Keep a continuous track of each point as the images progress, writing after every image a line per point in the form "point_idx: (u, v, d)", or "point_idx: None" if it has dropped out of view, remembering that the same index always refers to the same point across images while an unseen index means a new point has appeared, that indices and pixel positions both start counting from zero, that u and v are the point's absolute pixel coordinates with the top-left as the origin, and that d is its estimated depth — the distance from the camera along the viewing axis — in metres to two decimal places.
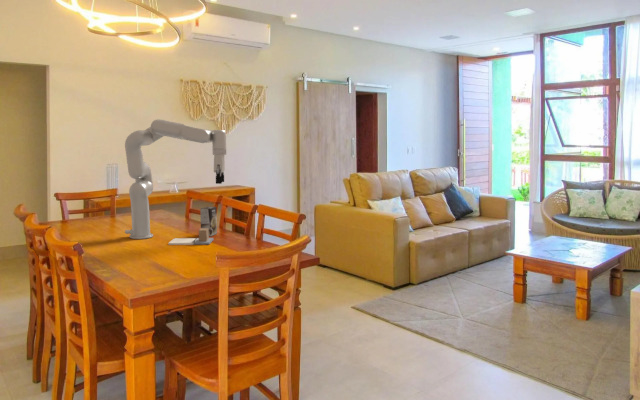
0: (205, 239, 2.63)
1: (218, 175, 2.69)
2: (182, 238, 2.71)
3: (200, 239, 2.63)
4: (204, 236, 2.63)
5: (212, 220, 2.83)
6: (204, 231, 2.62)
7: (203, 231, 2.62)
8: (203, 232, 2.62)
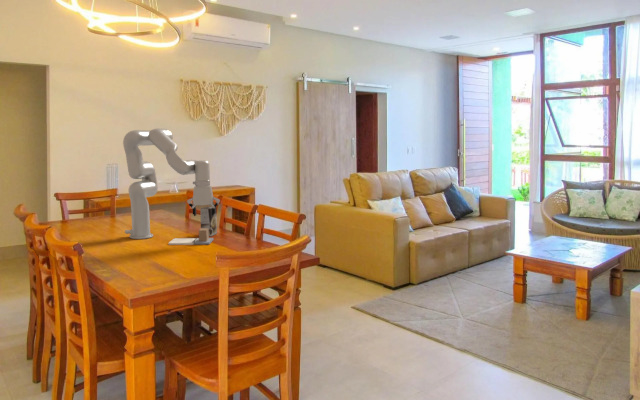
0: (205, 239, 2.63)
1: (215, 206, 2.64)
2: (182, 238, 2.71)
3: (200, 239, 2.63)
4: (204, 236, 2.63)
5: (212, 220, 2.83)
6: (204, 231, 2.62)
7: (203, 231, 2.62)
8: (203, 232, 2.62)
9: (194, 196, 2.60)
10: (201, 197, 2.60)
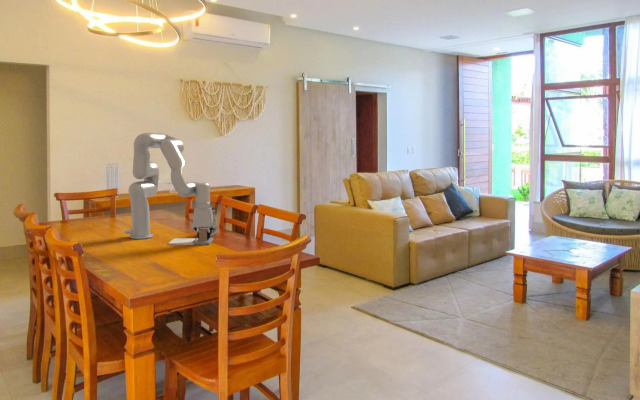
0: (205, 239, 2.63)
1: (211, 230, 2.66)
2: (182, 238, 2.71)
3: (200, 239, 2.63)
4: (204, 236, 2.63)
5: None
6: (204, 231, 2.62)
7: (203, 231, 2.62)
8: (203, 232, 2.62)
9: (194, 218, 2.62)
10: (202, 219, 2.62)
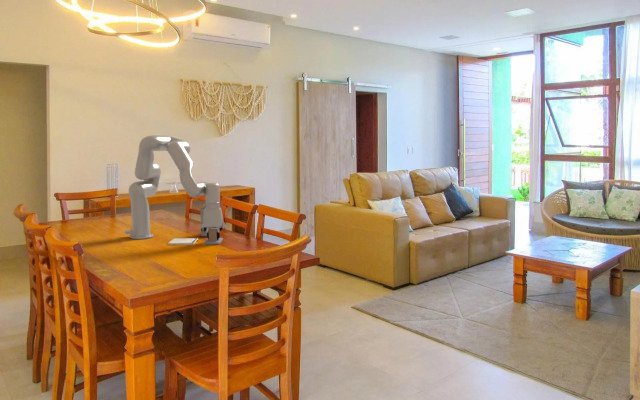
0: (215, 239, 2.63)
1: (220, 230, 2.66)
2: (182, 238, 2.71)
3: (210, 239, 2.63)
4: (214, 236, 2.63)
5: None
6: (214, 231, 2.63)
7: (213, 231, 2.63)
8: (212, 232, 2.63)
9: (204, 218, 2.62)
10: (211, 219, 2.62)
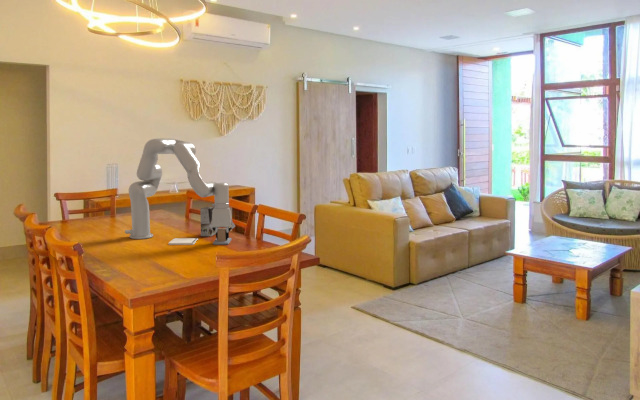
0: (224, 239, 2.63)
1: (229, 230, 2.66)
2: (182, 238, 2.71)
3: (219, 239, 2.63)
4: (223, 236, 2.63)
5: None
6: (223, 231, 2.63)
7: (222, 231, 2.63)
8: (221, 232, 2.63)
9: (213, 218, 2.62)
10: (220, 219, 2.62)
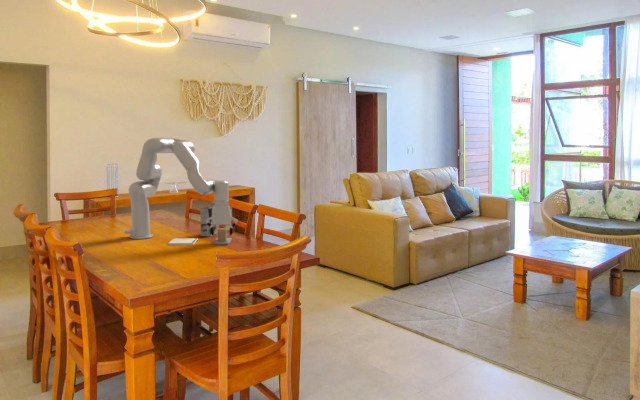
0: (224, 239, 2.63)
1: (233, 226, 2.66)
2: (182, 238, 2.71)
3: (219, 239, 2.63)
4: (223, 236, 2.63)
5: None
6: (223, 231, 2.63)
7: (222, 231, 2.63)
8: (221, 232, 2.63)
9: (213, 216, 2.62)
10: (220, 217, 2.62)
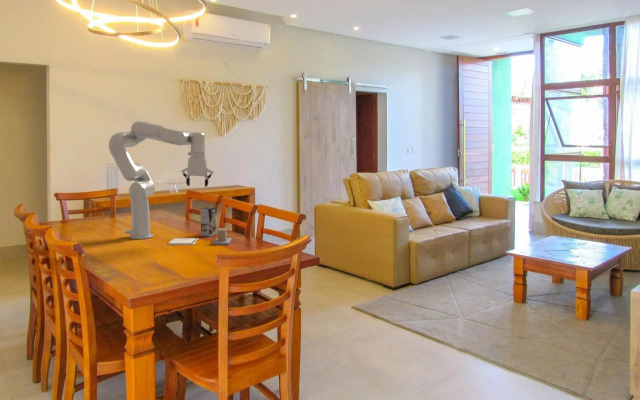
0: (224, 239, 2.63)
1: None
2: (182, 238, 2.71)
3: (219, 239, 2.63)
4: (223, 236, 2.63)
5: (212, 220, 2.83)
6: (223, 231, 2.63)
7: (222, 231, 2.63)
8: (221, 232, 2.63)
9: (188, 166, 2.68)
10: (195, 168, 2.67)
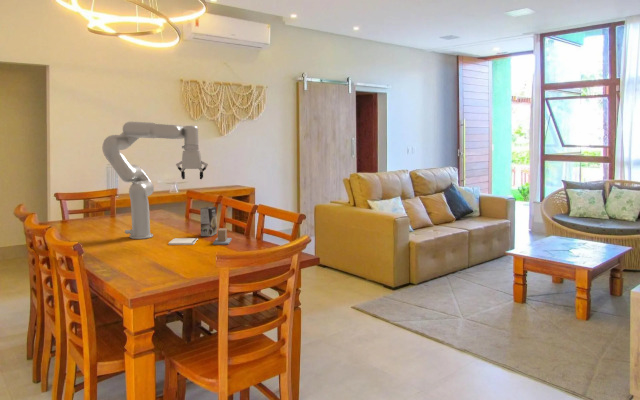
0: (224, 239, 2.63)
1: (203, 170, 2.73)
2: (182, 238, 2.71)
3: (219, 239, 2.63)
4: (223, 236, 2.63)
5: (212, 220, 2.83)
6: (223, 231, 2.63)
7: (222, 231, 2.63)
8: (221, 232, 2.63)
9: (183, 160, 2.69)
10: (190, 161, 2.69)
